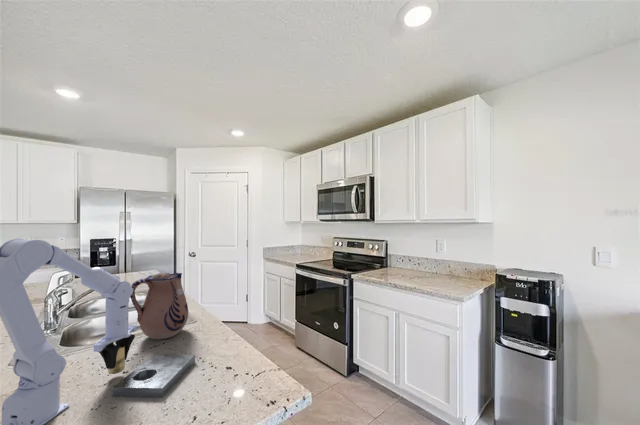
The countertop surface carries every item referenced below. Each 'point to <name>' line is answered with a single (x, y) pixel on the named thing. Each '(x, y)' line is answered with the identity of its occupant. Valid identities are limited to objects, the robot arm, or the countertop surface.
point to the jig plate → (154, 376)
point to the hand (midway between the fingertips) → (116, 364)
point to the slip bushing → (119, 361)
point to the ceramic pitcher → (162, 306)
